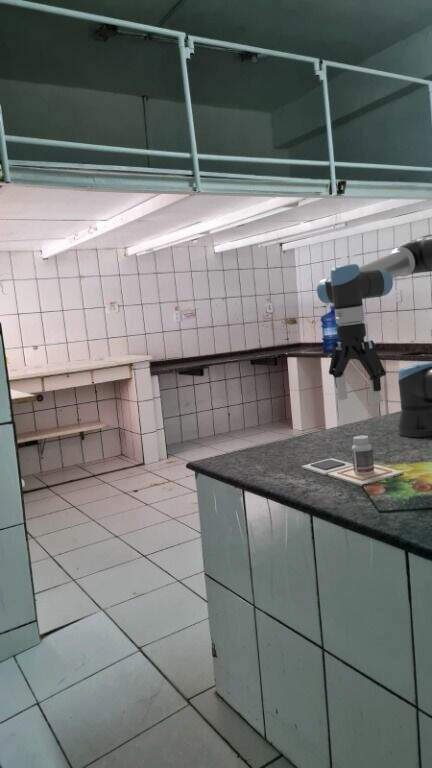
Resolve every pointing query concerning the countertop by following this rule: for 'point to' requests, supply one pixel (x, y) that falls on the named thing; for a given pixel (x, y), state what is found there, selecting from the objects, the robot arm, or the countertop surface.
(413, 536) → the countertop surface
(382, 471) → the print card
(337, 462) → the ink pad
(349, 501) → the countertop surface
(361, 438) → the pill bottle
